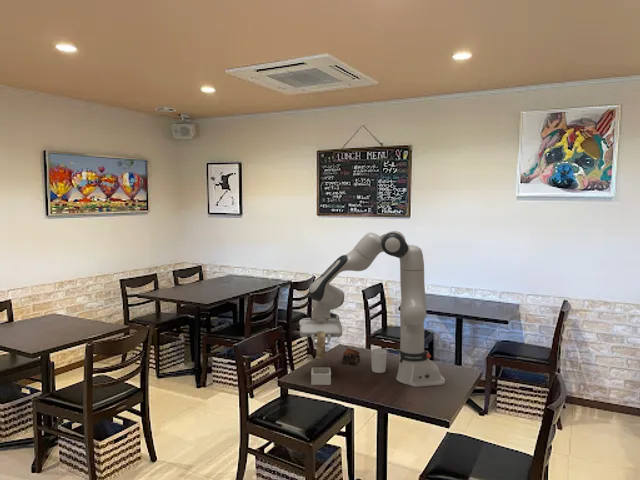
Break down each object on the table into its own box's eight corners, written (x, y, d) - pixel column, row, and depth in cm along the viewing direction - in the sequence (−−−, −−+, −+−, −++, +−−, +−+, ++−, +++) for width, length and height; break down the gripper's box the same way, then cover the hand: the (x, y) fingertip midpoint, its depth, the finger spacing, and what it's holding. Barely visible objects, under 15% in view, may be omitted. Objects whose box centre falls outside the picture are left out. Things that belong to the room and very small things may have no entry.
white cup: (386, 374, 233) (386, 354, 232) (370, 372, 234) (370, 353, 233) (387, 368, 240) (387, 349, 239) (371, 367, 242) (371, 348, 241)
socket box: (330, 377, 227) (330, 367, 227) (330, 384, 219) (330, 374, 218) (311, 377, 227) (311, 367, 227) (311, 384, 218) (311, 374, 218)
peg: (325, 356, 224) (325, 331, 223) (325, 359, 220) (325, 333, 219) (316, 356, 224) (316, 331, 223) (316, 358, 220) (316, 333, 219)
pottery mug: (337, 361, 252) (342, 346, 255) (352, 368, 254) (357, 353, 257) (346, 362, 241) (351, 347, 244) (362, 369, 243) (367, 354, 246)
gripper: (299, 314, 227) (298, 340, 218) (342, 315, 228) (342, 341, 219) (299, 321, 232) (298, 347, 223) (341, 321, 232) (342, 347, 223)
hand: (321, 344), depth 221 cm, fingers closed on peg, 4 cm apart
